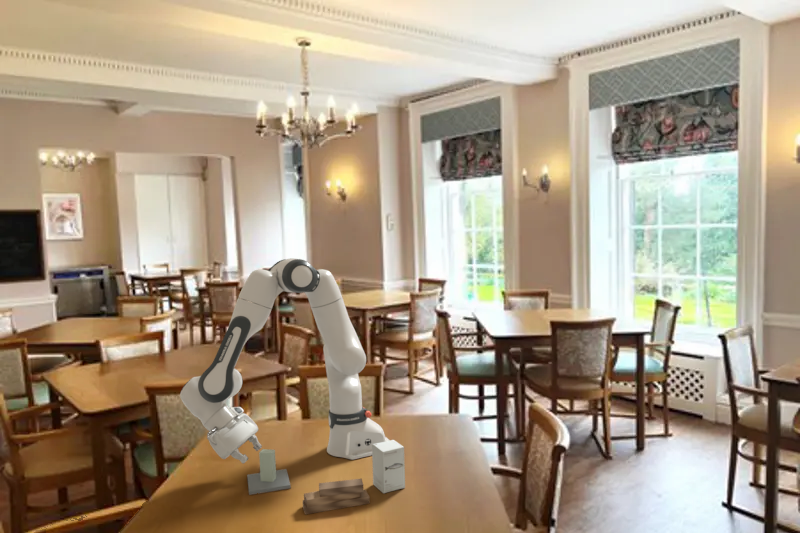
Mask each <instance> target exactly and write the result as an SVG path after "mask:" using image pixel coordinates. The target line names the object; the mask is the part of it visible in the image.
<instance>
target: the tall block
mask: <svg viewBox="0 0 800 533" xmlns="http://www.w3.org/2000/svg"><path fill="white" fill-rule="evenodd" d="M258 454H259V455H258V459H259V473H260V478H261V481H267V482H273V481H274V480H275V479H276V470H277V467H276V465H277V464H276V450H275V449H265V448H262V449H261V450H259V451H258Z"/></svg>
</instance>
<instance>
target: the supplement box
mask: <svg viewBox="0 0 800 533" xmlns="http://www.w3.org/2000/svg"><path fill="white" fill-rule="evenodd" d="M389 440H390V439H389ZM371 456H372V458H371V459H372V484H373V485H374V487H375V488H377V490H379V491H380V492H381V493H382V494H386V493H391V492H393V491H398V490H400V489H405V488H406V474H405V473H406V472H405V471H406V469H405V468H406V467H405V447H404V446H403V445H402V444H401V443H399V442H398V441H396V440H395V439H391V440H390V441H385V442H381V443H376V444H372V455H371Z"/></svg>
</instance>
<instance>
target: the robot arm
mask: <svg viewBox="0 0 800 533" xmlns="http://www.w3.org/2000/svg"><path fill="white" fill-rule="evenodd" d="M283 292H286V293H290V294H291V293H297V294H300V293H301V294H302V293H304V294H305V295H306V297H307V300H308V303H309V306H310V309H311V311H312V315H313V317H314V320H315V323H316V327H317V330H318V331H319V333H320V335H321V337H322V340H323V343H324V344H323V347H322V348H323V349H322V350H323V355H324V363H325V371H326V378H327V383H328V393H329V394H328V395H329V409H328V426H329V438H328V444H327V447H326V452H327V453H328V455H331V456H333V457H338V458H345V459H347V460H356V459H357V460H358V459H360V458H361V459H362V458H365V457H369V456H370V457H371V456H372V444H376V443H381V442H385V441H390V439H389V438H388V437H387V436H386V435H385V432H384V429H383V427H382V426H381V425H380V424H378V423H377V422H376V421H374V420H373V419H371V418H372V416H373V414H372V412H371V411H370V410H368V409H367V408H366V407H364V406H363V400H362V399H363V397H362V385H361V380H360V377H359V373H361V372H362V371H363V370H364V368H365V367H366V363H367V355H366V353H365V350H364V348H363V346H362V343H361V341H360V338H359V337H358V334H357V332H356V330H355V328H354V325H353V323H352V321H351V319H350V316H349V313H348V310H347V307H346V305H345V301H344V298H343V296H342V292H341V290H340V287H339V285H338V282H336V279H335V277H334V275H333V273H332V272H330V270H328V269H322V268H319V269H316V268H315V267H314V266H313V265H312V264H311V263H310V262H308V261H307V260H304V259H301V258H285V259H281V260H279V261H277V262H275V263H274V264H273V265H272V266H271V267H270V268H269V269H261V268H260V269H259V268H258V269H254V270H253V271H252V272H251V273H250V274H249V276H247V279H246V281H245V282H244V284H243V286H242V287H241V291H240V292H239V295H238V298H237V300H236V302H235V305H234V309H233V310H232V315H231V318H230V321H229V324H228V326H227V327H228V328H227V330H226V332H225V334H224V336H223V338H222V341H221V344H220V346H219V348H218V350H217V352H216V355H215V356H214V358H213V361H212V362H211V363H210V365H209V366H208V367H207V369H205V370H204V372H203V373H202V374H201V375H199V376H193V377H192V378H190V379H189V380H188V381H186V383H185V384H184V385H183V387H182V389H181V391H180V394H179V396H180V397H179V398H180V400H181V401H182V403H183V405H184V406H185V407H186V408H187V410H188V411H189V413H191V414H192V415H193V416H194V417H195V418H198V420H200V423H202V426H203V427H204V428H205V429H206V430H207V431H208V432H207V433H206V436H207V440H208V442H209V444H210V446H211V447H212V449H213V451H214V452H215V453H216V455H218V457H220V459H222V460H226V459H227V458H228V457H230V456H231V457H232V458H233V459H235V460H239V461H240V462H241V464H245V463H246V462H247V461H249V456H247V454H243V453H241V452H240V450H239V448H240V447H242V446H243V445H244V444H245V443H247V441H249V443H252V444H251V445H253V447H252V448H253V449H254V451H256V452H259V451H260V449H261V448H262V447H263V445H262V444H261V443H260V442H259V440H258V436H257V435H256V433H258V431H259V426H258V425H257V423H256V422H255V421H254V420H253V418H251V417H250V416H249V415H248V414H247V413H245V410H244V409H243V408H242V406H233V407H232V406H230V407H229V406H228V404H226V401H227V400H228V399H231V398H232V397H234V396H236V395H237V394H238V393H239V391H240V390H241V389H242V386H243V375H242V374H241V373H240V371H239V370H238V369H237V368H235V367H236V365H237V363H238V360H239V358H240V355H241V353H242V351H243V348H244V346H245V345H246V343H247V341H249V339H250V338H251V337H252V336H253V335H255V334H256V333H258V332H259V331H261V330H262V329H263V327H264V326H265V324H266V323H267V321H268V319H269V317H270V315H271V311H272V309H273V306H274V304H275V301H276V299H277V297H278V296H279V295H280V294H281V293H283Z"/></svg>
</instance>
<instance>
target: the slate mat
mask: <svg viewBox="0 0 800 533" xmlns="http://www.w3.org/2000/svg"><path fill="white" fill-rule="evenodd" d="M246 476H247V485H248V495H249V496H250V495H256V494H257V493H258V494H264V493H270V492H275V491H282V490H288V489H291V482H290V478H289V474H288V470H287V468H285V469H284V468H283V469H276V479H275V480H274V481H273V482H267V481H261V478H260V472H258V473H250V474H247V475H246Z"/></svg>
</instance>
